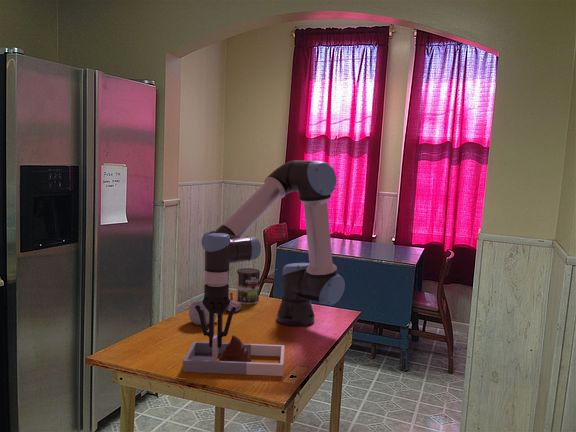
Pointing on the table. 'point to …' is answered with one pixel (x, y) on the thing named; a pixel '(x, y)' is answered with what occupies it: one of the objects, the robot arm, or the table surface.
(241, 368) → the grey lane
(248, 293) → the coffee can
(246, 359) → the poop emoji
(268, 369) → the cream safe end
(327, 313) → the table surface
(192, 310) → the teacup
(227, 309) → the garlic bulb
